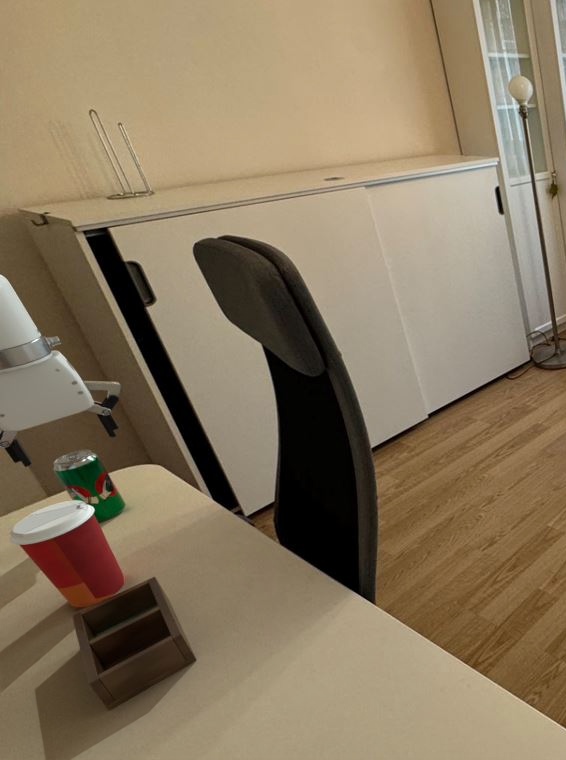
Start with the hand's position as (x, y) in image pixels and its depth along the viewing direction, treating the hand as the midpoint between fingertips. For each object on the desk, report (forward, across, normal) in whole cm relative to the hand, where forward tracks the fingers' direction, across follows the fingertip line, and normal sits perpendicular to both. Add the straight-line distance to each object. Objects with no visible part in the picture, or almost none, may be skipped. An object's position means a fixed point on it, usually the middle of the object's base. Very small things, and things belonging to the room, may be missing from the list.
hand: (71, 448), depth 91 cm
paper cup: (+14, +4, +23) cm, 27 cm away
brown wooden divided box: (+14, +3, +41) cm, 43 cm away
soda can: (+14, +1, 0) cm, 14 cm away
